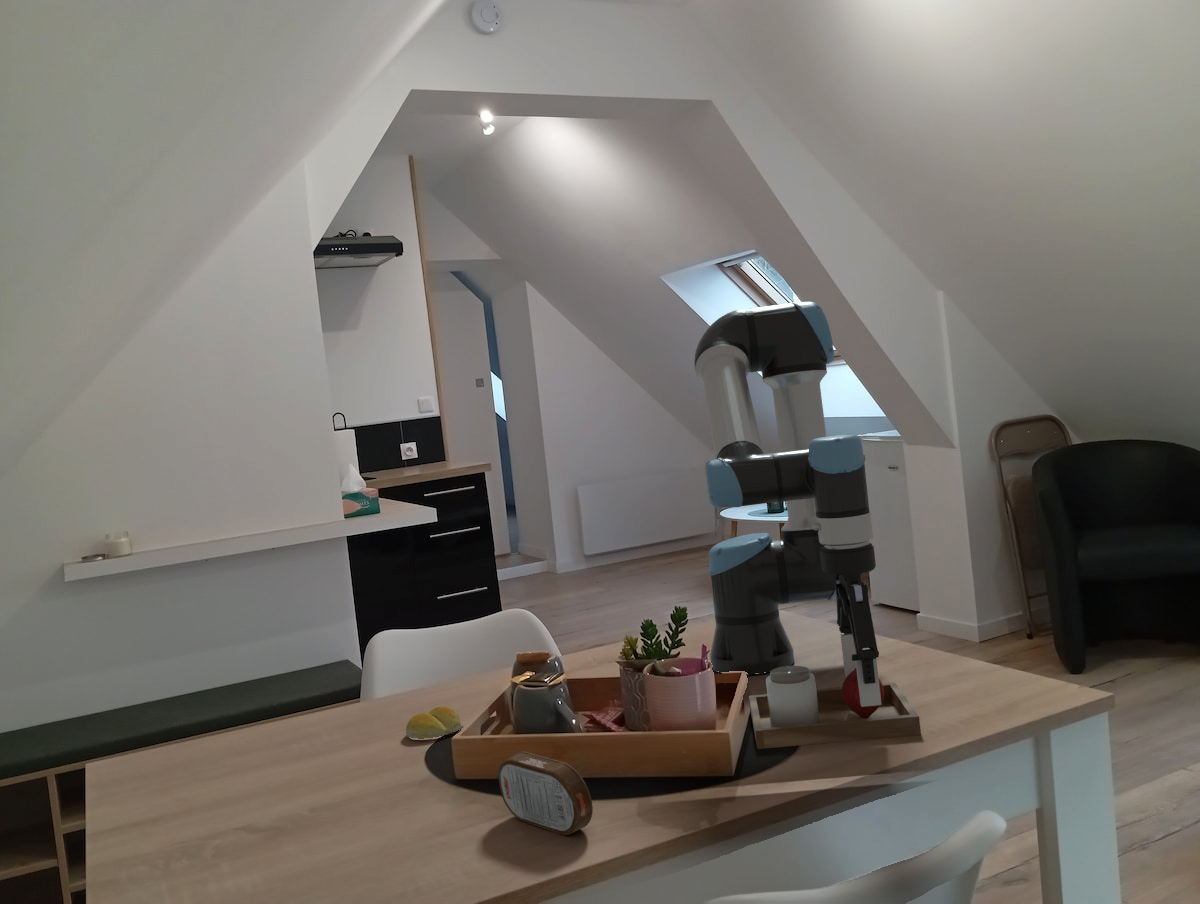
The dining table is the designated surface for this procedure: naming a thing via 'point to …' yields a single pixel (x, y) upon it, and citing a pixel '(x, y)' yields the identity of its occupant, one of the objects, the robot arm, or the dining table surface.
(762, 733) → the wooden tray
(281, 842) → the dining table surface
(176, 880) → the dining table surface
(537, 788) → the tin
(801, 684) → the jar
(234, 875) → the dining table surface
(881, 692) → the onion
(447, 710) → the yellow rounded lump
